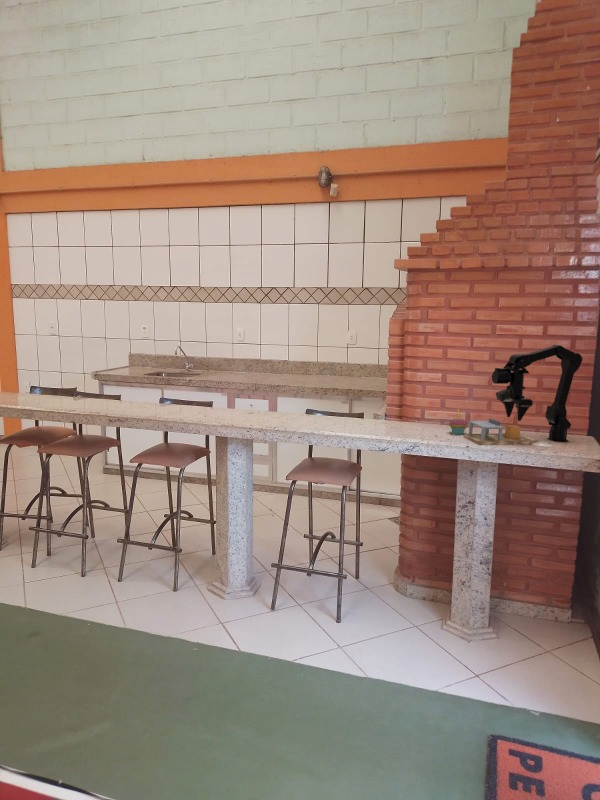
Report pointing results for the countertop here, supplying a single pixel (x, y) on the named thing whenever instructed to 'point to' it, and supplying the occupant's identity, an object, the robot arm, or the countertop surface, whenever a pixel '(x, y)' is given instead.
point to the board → (493, 440)
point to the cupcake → (458, 425)
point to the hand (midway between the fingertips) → (513, 419)
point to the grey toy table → (486, 427)
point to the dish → (543, 444)
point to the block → (512, 432)
